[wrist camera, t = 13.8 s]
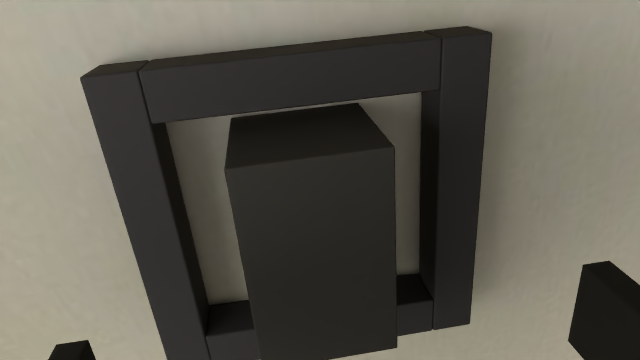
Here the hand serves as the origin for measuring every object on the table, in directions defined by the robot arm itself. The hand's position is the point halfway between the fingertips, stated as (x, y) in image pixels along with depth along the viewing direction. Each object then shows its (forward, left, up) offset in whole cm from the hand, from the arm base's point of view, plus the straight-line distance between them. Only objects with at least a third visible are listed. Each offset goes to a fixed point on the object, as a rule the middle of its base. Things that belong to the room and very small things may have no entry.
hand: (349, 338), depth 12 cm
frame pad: (0, 0, -8) cm, 8 cm away
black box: (0, 0, -8) cm, 8 cm away
